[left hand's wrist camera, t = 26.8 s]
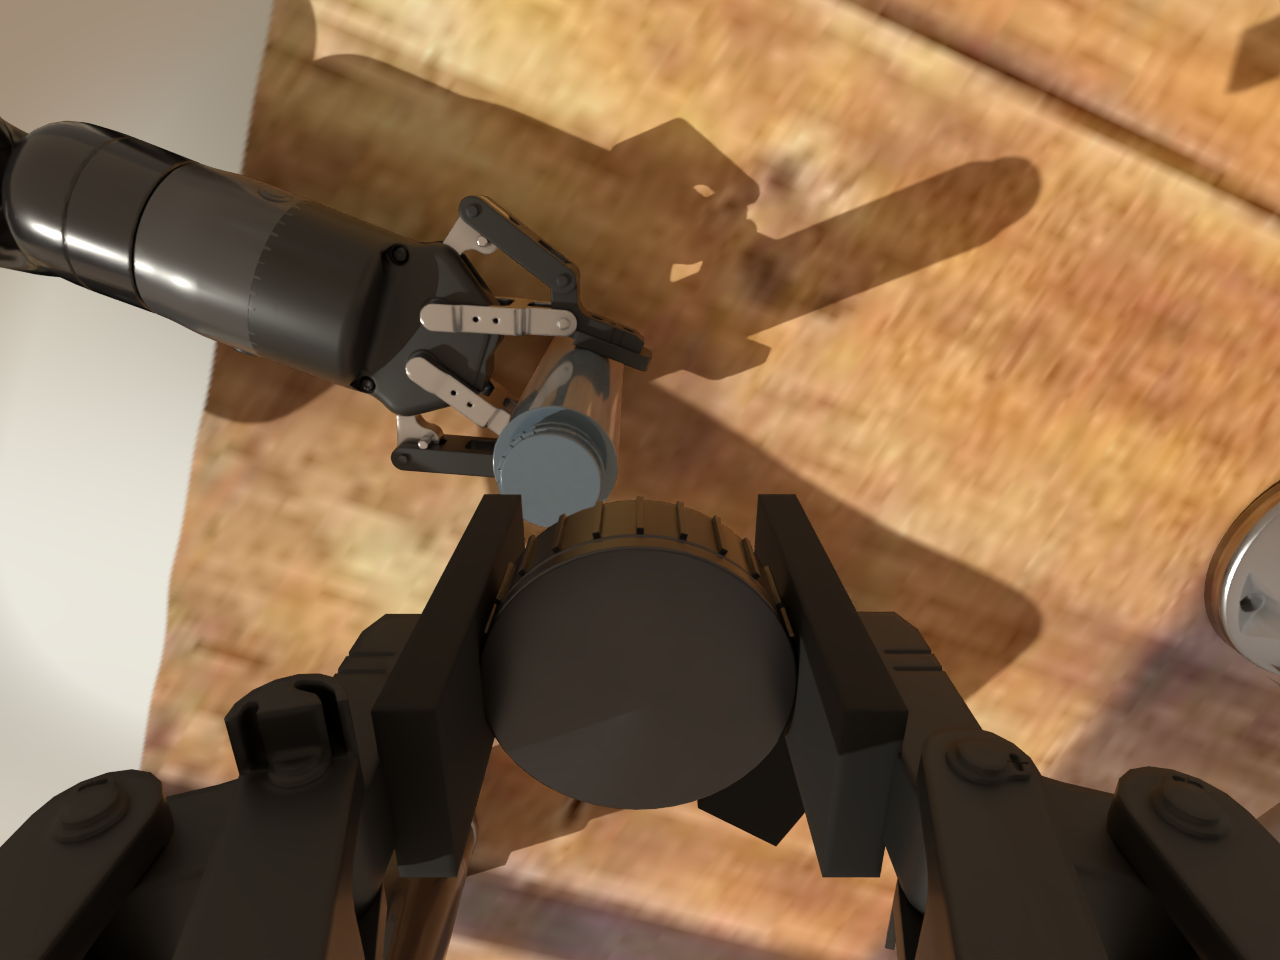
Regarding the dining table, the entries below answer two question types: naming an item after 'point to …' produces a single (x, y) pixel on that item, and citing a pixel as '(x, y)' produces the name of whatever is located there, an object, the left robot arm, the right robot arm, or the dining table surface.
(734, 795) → the figurine character
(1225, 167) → the dining table surface
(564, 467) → the grey cylinder
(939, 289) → the dining table surface
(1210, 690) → the dining table surface
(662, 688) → the lid
